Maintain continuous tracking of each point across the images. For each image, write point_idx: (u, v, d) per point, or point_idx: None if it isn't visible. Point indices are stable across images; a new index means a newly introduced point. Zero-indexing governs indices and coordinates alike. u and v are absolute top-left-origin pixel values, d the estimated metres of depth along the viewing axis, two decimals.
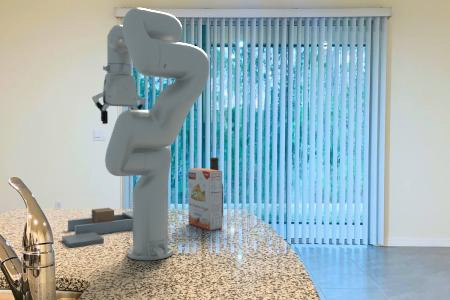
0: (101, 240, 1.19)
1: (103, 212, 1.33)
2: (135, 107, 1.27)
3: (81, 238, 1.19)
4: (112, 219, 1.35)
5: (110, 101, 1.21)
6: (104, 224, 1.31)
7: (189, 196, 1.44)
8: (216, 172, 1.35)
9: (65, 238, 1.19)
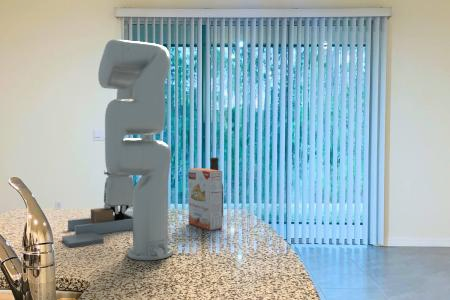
0: (101, 240, 1.19)
1: (102, 212, 1.33)
2: (124, 208, 1.39)
3: (81, 238, 1.19)
4: (111, 219, 1.35)
5: (110, 203, 1.35)
6: (104, 224, 1.31)
7: (189, 196, 1.44)
8: (216, 172, 1.35)
9: (65, 238, 1.19)
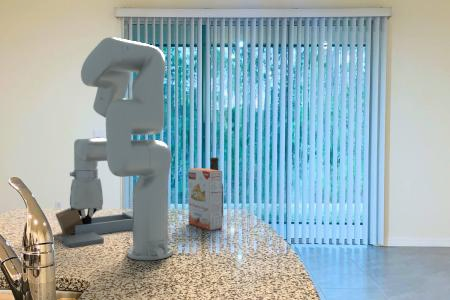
0: (101, 240, 1.19)
1: (66, 215, 1.26)
2: (91, 211, 1.32)
3: (81, 238, 1.19)
4: (78, 218, 1.28)
5: (76, 207, 1.28)
6: (104, 224, 1.31)
7: (189, 196, 1.44)
8: (216, 172, 1.35)
9: (65, 238, 1.19)
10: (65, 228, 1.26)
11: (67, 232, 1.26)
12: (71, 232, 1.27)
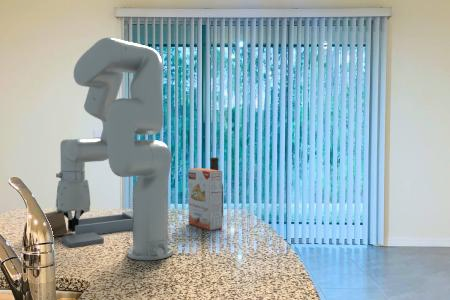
0: (101, 240, 1.19)
1: (51, 216, 1.24)
2: (78, 213, 1.30)
3: (81, 238, 1.19)
4: (63, 222, 1.26)
5: (62, 208, 1.25)
6: (104, 224, 1.31)
7: (189, 196, 1.44)
8: (216, 172, 1.35)
9: (65, 238, 1.19)
10: None
11: None
12: None
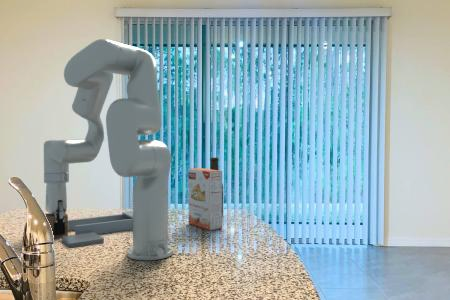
0: (101, 240, 1.19)
1: None
2: None
3: (81, 238, 1.19)
4: (65, 224, 1.26)
5: (45, 207, 1.29)
6: (104, 224, 1.31)
7: (189, 196, 1.44)
8: (216, 172, 1.35)
9: (65, 238, 1.19)
10: None
11: None
12: None
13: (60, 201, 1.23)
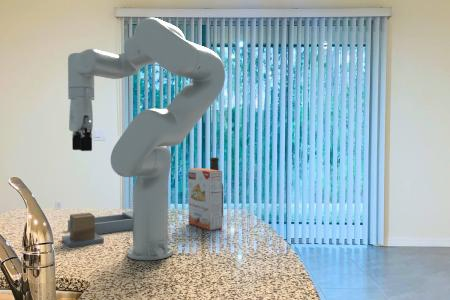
0: (101, 240, 1.19)
1: (81, 218, 1.17)
2: (81, 132, 1.15)
3: None
4: (92, 226, 1.19)
5: (69, 128, 1.21)
6: (104, 224, 1.31)
7: (189, 196, 1.44)
8: (216, 172, 1.35)
9: (65, 238, 1.19)
10: (76, 232, 1.16)
11: (76, 237, 1.16)
12: (80, 238, 1.17)
13: None
